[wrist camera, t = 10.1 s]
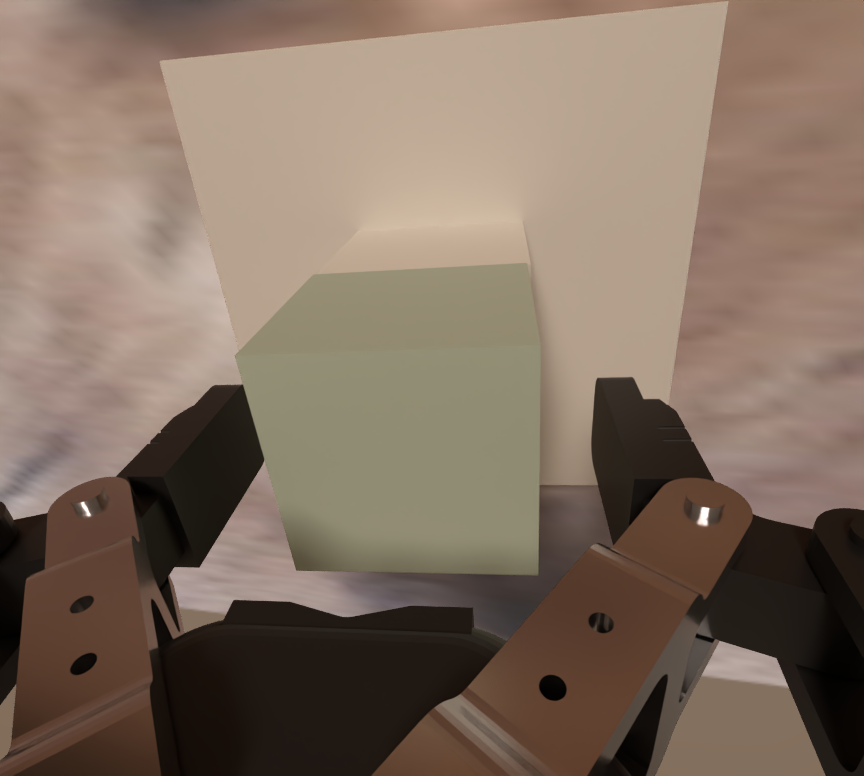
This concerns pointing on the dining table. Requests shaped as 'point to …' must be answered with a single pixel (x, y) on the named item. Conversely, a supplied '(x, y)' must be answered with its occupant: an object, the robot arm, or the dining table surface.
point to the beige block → (432, 248)
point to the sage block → (403, 420)
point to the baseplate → (475, 176)
